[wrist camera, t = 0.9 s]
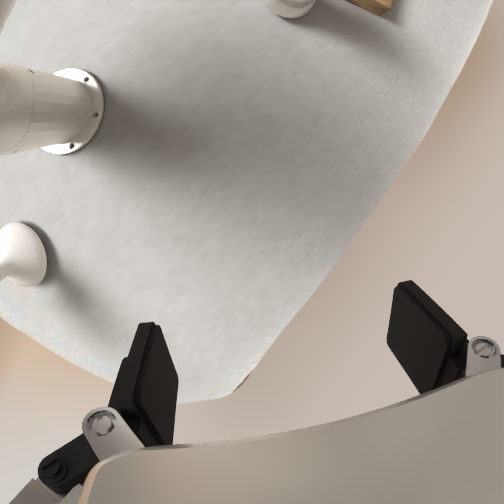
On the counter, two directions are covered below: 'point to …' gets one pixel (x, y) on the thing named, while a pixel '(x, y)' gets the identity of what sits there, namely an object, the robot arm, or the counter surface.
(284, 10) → the plastic bottle
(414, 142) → the counter surface
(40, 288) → the counter surface
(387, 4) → the base slab
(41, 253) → the flower in vase
